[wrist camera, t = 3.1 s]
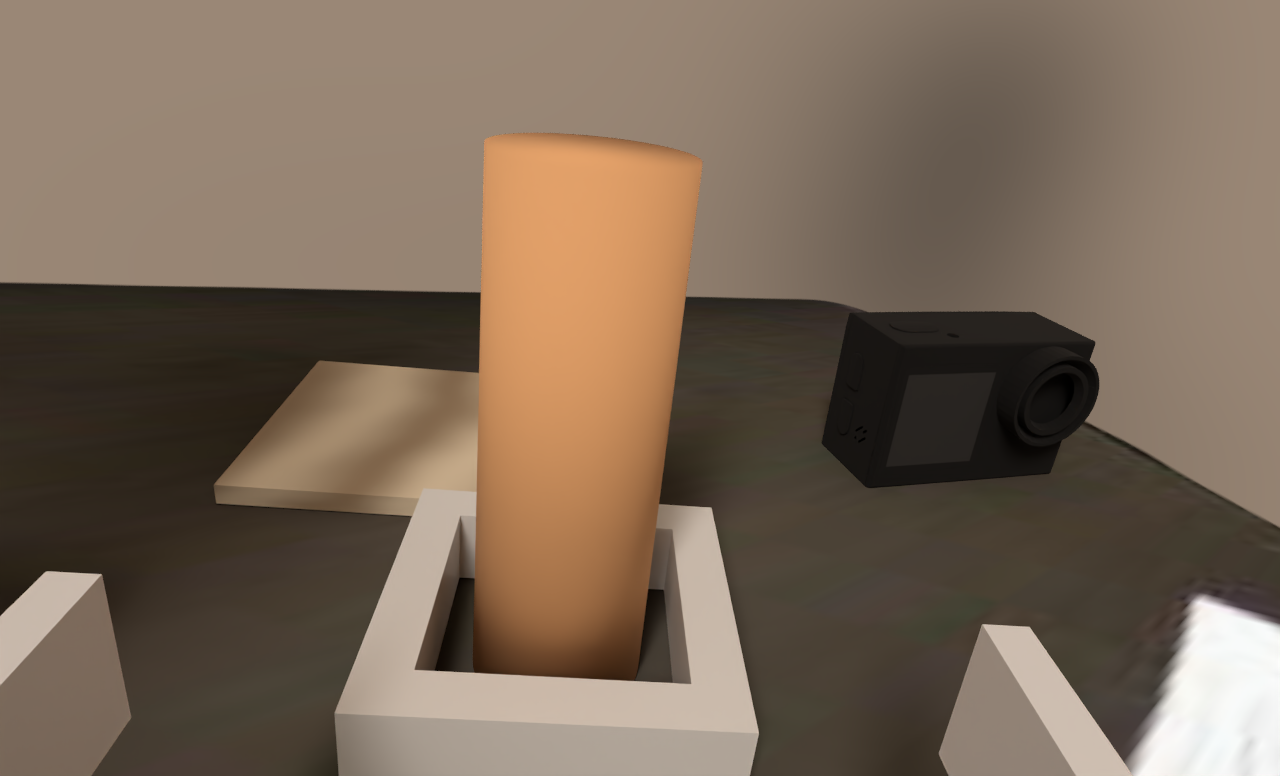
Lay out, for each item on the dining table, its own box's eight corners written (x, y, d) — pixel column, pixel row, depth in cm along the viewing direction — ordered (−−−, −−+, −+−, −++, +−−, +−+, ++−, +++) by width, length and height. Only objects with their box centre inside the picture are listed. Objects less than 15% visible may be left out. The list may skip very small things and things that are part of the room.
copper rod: (459, 715, 22) (468, 155, 16) (485, 598, 27) (498, 126, 21) (641, 724, 23) (714, 179, 17) (635, 607, 27) (692, 145, 21)
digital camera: (879, 505, 35) (918, 355, 33) (819, 444, 40) (848, 309, 37) (1069, 488, 39) (1120, 350, 36) (993, 434, 43) (1032, 308, 40)
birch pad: (216, 503, 30) (213, 484, 30) (319, 375, 41) (319, 360, 41) (541, 524, 31) (542, 506, 31) (558, 393, 42) (559, 379, 42)
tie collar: (339, 789, 20) (334, 713, 19) (423, 548, 29) (423, 488, 28) (743, 806, 21) (758, 733, 20) (702, 565, 30) (711, 507, 29)
